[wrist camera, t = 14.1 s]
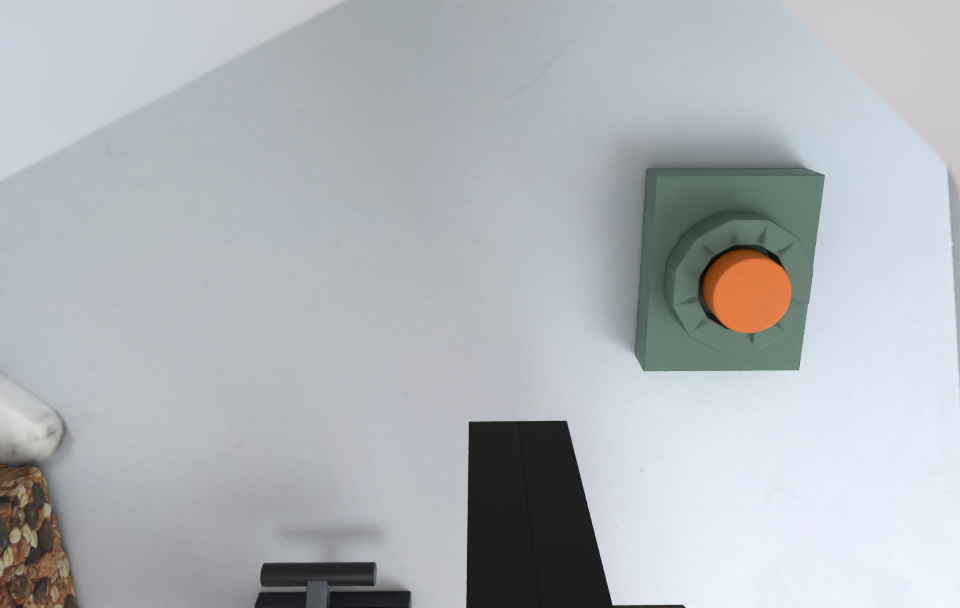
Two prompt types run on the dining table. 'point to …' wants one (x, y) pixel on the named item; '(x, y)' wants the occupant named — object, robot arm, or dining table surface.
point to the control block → (701, 241)
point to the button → (747, 290)
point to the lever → (318, 578)
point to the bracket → (338, 600)
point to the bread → (31, 544)
